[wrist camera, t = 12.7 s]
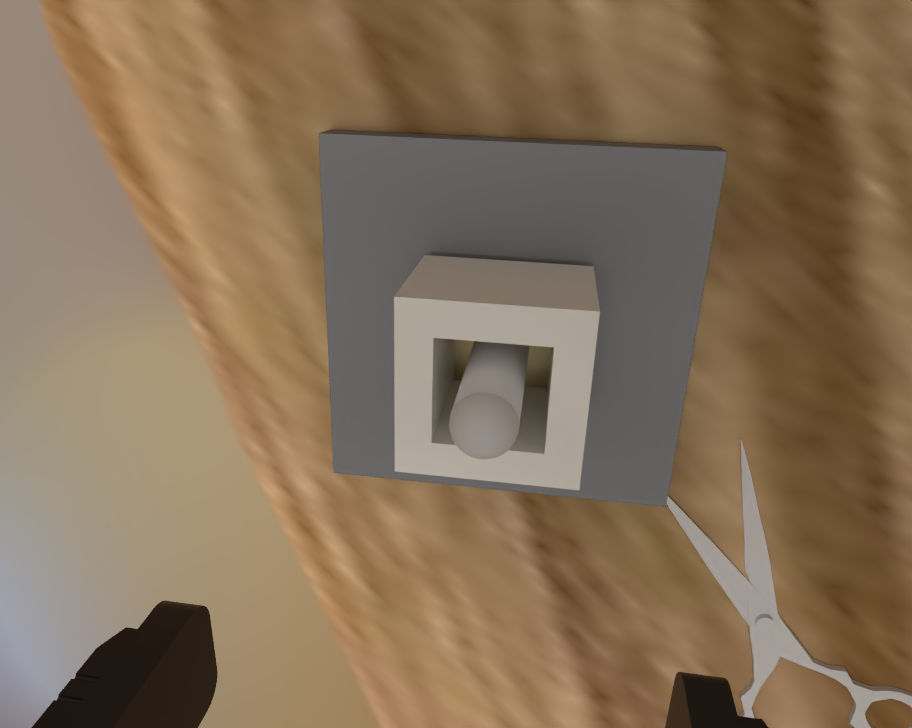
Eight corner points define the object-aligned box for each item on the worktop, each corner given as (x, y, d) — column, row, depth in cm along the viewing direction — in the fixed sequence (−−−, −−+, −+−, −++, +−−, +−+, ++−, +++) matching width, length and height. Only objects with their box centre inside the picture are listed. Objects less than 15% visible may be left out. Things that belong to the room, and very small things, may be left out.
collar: (593, 266, 25) (600, 311, 20) (576, 418, 27) (579, 490, 23) (424, 255, 26) (393, 296, 21) (422, 404, 28) (394, 471, 23)
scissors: (736, 803, 37) (574, 501, 31) (732, 789, 37) (574, 491, 32) (958, 757, 34) (825, 411, 28) (950, 743, 34) (819, 403, 28)
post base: (718, 147, 25) (806, 194, 16) (661, 486, 30) (702, 668, 21) (331, 129, 27) (209, 164, 17) (343, 455, 32) (255, 610, 23)
